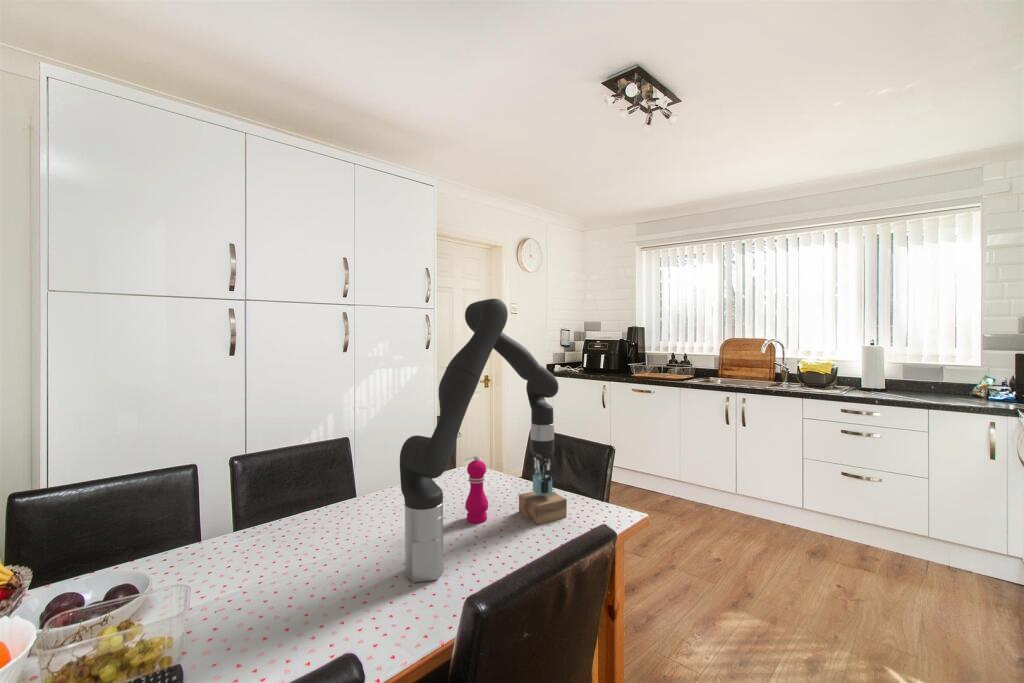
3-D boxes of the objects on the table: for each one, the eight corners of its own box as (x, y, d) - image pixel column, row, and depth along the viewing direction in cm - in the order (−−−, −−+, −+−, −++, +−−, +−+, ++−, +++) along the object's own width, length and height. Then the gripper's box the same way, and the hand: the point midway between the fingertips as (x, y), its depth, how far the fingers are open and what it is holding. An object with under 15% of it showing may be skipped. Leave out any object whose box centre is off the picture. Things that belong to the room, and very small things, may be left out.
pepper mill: (490, 515, 148) (489, 453, 147) (486, 524, 140) (486, 459, 140) (467, 514, 148) (467, 452, 148) (463, 523, 141) (462, 458, 140)
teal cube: (552, 494, 146) (552, 478, 146) (537, 495, 145) (537, 479, 144) (547, 488, 151) (547, 473, 150) (532, 489, 150) (532, 474, 149)
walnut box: (566, 518, 146) (566, 499, 146) (537, 525, 140) (537, 505, 140) (547, 506, 155) (547, 488, 155) (518, 512, 150) (518, 494, 150)
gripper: (560, 441, 141) (560, 497, 141) (547, 431, 155) (547, 481, 155) (537, 443, 139) (537, 499, 140) (525, 432, 153) (525, 483, 154)
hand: (542, 489), depth 148 cm, fingers closed on teal cube, 4 cm apart
